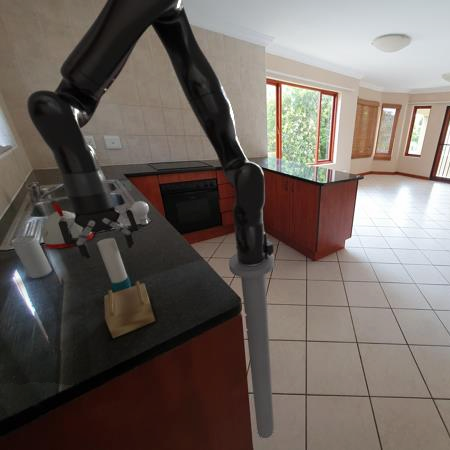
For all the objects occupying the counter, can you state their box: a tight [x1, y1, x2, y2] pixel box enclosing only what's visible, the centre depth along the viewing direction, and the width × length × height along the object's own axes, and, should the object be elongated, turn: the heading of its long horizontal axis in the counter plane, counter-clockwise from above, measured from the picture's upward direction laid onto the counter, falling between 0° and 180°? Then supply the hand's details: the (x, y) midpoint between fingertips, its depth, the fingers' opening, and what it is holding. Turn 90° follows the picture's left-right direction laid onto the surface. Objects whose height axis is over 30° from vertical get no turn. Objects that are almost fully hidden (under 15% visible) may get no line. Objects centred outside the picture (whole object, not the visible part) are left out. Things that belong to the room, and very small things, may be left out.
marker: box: [96, 237, 133, 293], centre depth 63 cm, size 15×4×4 cm
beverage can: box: [11, 235, 53, 279], centre depth 69 cm, size 5×5×12 cm
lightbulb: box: [131, 200, 150, 226], centre depth 104 cm, size 6×6×11 cm
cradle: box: [103, 280, 156, 339], centre depth 55 cm, size 8×9×6 cm
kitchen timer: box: [40, 202, 94, 249], centre depth 89 cm, size 14×14×15 cm
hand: (110, 251), depth 61 cm, fingers open, 8 cm apart
